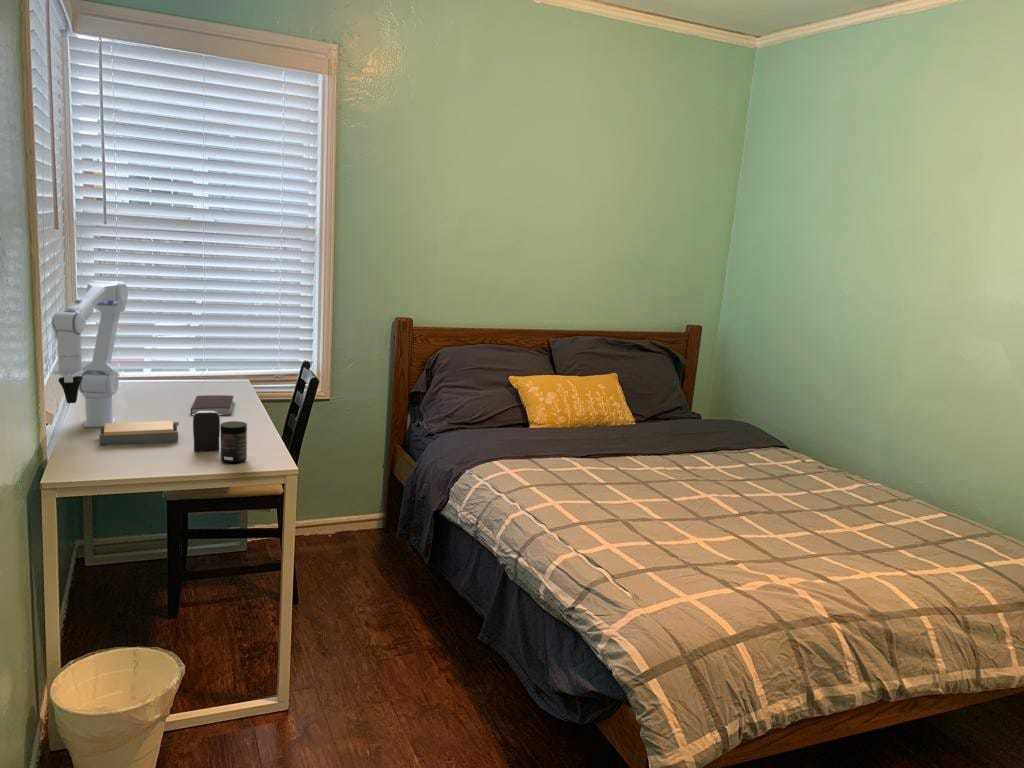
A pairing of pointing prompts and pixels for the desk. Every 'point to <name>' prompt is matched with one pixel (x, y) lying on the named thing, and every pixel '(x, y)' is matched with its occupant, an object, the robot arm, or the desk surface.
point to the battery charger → (206, 431)
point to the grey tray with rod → (138, 437)
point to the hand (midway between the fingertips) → (71, 402)
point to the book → (213, 404)
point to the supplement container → (233, 442)
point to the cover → (138, 428)
